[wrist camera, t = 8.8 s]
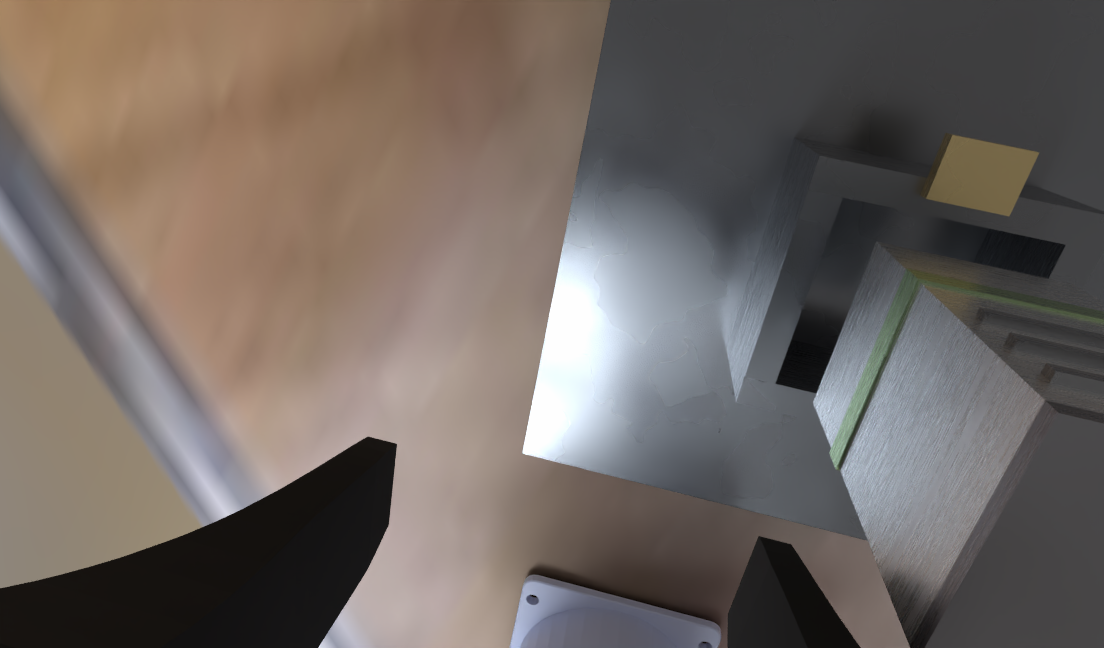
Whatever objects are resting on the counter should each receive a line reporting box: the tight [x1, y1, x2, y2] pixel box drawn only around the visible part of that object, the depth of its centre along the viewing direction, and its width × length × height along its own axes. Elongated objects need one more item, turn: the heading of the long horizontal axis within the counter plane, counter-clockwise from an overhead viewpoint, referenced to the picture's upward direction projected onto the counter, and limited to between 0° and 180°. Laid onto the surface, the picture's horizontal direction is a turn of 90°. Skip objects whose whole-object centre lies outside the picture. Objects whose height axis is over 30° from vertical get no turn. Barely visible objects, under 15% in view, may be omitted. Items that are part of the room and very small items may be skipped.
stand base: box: [523, 0, 1104, 541], centre depth 18 cm, size 18×18×5 cm
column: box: [813, 241, 1104, 648], centre depth 11 cm, size 4×4×7 cm
